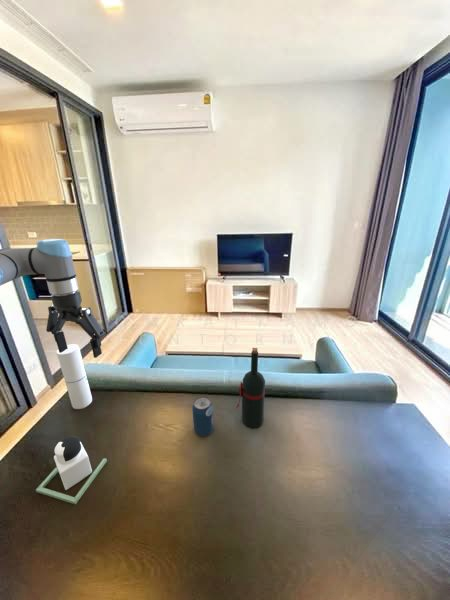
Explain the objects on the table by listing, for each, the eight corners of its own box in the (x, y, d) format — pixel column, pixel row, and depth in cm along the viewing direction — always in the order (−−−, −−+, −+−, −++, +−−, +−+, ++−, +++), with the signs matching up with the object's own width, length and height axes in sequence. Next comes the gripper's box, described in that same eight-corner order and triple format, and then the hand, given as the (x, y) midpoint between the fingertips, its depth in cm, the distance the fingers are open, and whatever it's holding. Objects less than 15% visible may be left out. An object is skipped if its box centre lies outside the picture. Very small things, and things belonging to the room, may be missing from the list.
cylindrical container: (68, 408, 98) (51, 353, 89) (80, 395, 104) (66, 343, 96) (84, 410, 97) (69, 355, 88) (96, 397, 103) (83, 344, 94)
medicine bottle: (85, 457, 78) (76, 428, 74) (92, 473, 74) (84, 443, 69) (59, 473, 74) (48, 443, 70) (65, 491, 69) (54, 460, 65)
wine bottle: (236, 410, 96) (236, 342, 85) (263, 412, 95) (266, 343, 84) (234, 427, 88) (234, 354, 78) (263, 429, 87) (267, 356, 77)
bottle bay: (36, 492, 69) (35, 489, 69) (72, 451, 80) (71, 449, 80) (75, 504, 66) (74, 502, 66) (107, 460, 77) (106, 458, 77)
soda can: (217, 431, 87) (216, 404, 83) (199, 441, 83) (198, 413, 79) (207, 418, 92) (206, 392, 88) (190, 427, 89) (188, 400, 84)
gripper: (109, 291, 75) (120, 351, 83) (43, 286, 81) (59, 342, 89) (91, 299, 69) (105, 364, 76) (20, 293, 74) (40, 354, 82)
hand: (80, 353), depth 82 cm, fingers open, 13 cm apart
